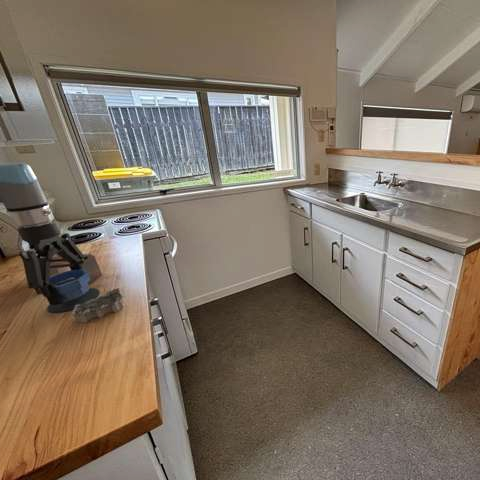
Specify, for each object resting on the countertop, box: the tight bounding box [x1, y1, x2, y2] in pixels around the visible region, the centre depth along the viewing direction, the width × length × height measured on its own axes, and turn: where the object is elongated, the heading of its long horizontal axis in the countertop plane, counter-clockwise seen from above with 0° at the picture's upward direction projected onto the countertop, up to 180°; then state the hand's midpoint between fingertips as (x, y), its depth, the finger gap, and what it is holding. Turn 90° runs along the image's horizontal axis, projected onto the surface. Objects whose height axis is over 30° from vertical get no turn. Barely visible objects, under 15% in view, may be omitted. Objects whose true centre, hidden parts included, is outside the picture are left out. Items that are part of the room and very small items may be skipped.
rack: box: [33, 253, 103, 295], centre depth 85 cm, size 14×9×9 cm, turn 99°
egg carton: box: [71, 288, 124, 324], centre depth 72 cm, size 11×8×4 cm
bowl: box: [43, 269, 91, 302], centre depth 76 cm, size 10×10×6 cm
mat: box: [46, 287, 100, 314], centre depth 78 cm, size 12×12×1 cm
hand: (71, 293), depth 77 cm, fingers closed on bowl, 10 cm apart
